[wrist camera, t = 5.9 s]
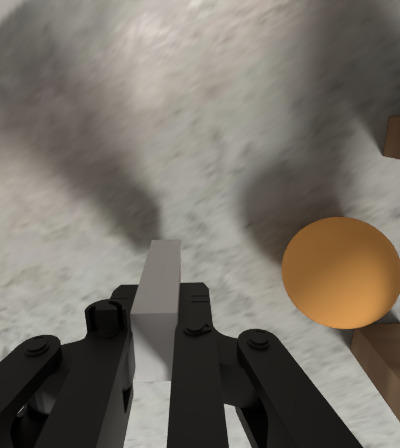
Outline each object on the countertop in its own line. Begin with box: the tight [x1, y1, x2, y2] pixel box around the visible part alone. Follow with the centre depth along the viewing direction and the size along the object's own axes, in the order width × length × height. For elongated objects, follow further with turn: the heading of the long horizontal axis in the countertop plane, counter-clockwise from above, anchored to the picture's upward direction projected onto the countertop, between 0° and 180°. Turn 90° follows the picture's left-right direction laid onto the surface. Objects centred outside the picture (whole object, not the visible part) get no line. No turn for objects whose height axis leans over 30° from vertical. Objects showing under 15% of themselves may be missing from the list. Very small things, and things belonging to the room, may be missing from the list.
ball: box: [282, 217, 400, 329], centre depth 16 cm, size 6×6×6 cm
